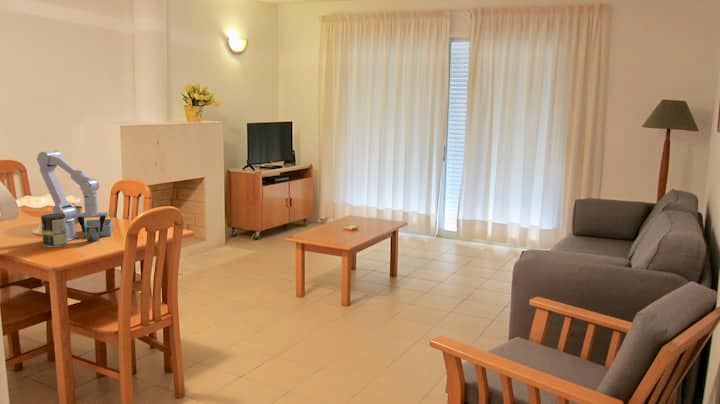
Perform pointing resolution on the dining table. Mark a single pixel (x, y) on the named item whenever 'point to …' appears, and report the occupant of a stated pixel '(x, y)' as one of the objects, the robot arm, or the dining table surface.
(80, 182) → the robot arm
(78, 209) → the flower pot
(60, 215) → the coffee can
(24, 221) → the dining table surface
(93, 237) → the grey cylinder
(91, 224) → the tote
